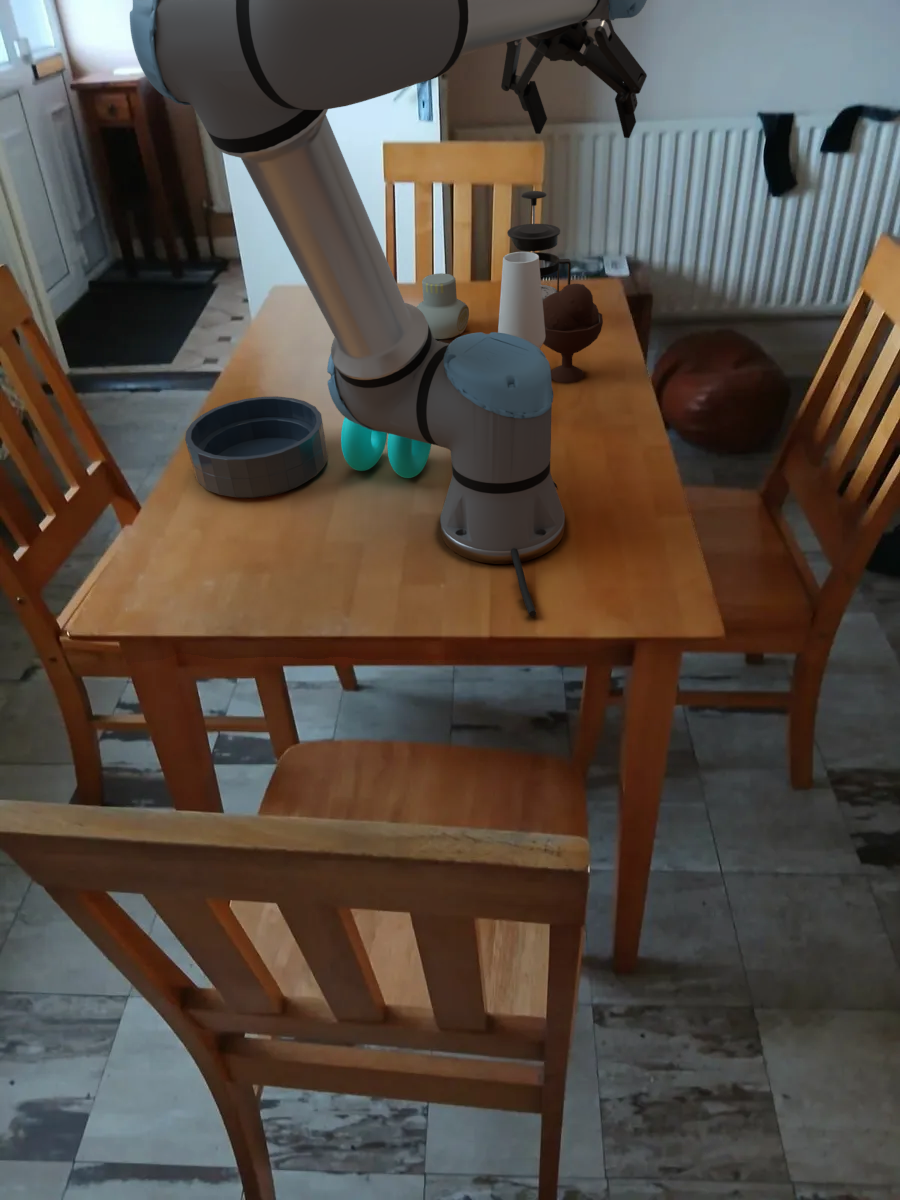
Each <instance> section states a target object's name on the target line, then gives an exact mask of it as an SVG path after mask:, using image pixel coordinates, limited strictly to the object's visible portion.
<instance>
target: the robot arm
mask: <svg viewBox="0 0 900 1200" xmlns="http://www.w3.org/2000/svg"><path fill="white" fill-rule="evenodd" d="M647 1H648V0H132V8H131V10H130V11H129V27H130V36H131V41H132V45H133V49H134V53H135V56H136V59H137V62H138V64H139V66H140V68H141V70H142V72H143V74H144V76H145V77H146V79H147V80H148V81H149V83H150V85H151V86H152V87H153V88H154V89H155V90H156V91H157V92H158V93H159V94H160V95H162V96H163V97H164V98H167V99H169V100H171V101H172V102H174V103H175V104H178V105H183V106H192V108H193V109H194V111H195V112H196V114H197V117H198V118H199V119H200V121H201V123H202V125H203V127H204V129H205V130H206V133H207V134H208V136H209V138H210V140H211V142H212V143H213V145H214V147H215V148H216V149H217V150H218V151H219V152H221V153H222V154H225V155H228V156H232V157H235V158H239V159H241V161H242V163H243V165H244V167H245V169H246V171H247V172H248V175H249V176H250V178H251V180H252V182H253V185H254V186H255V188H256V190H257V192H258V194H259V196H260V198H261V199H262V201H263V203H264V205H265V208H266V209H267V211H268V213H269V214H270V217H271V219H272V220H273V222H274V224H275V226H276V228H277V230H278V232H279V234H280V235H281V238H282V240H283V241H284V244H285V245H286V248H287V249H288V251H289V252H290V255H291V257H292V258H293V261H294V262H295V265H296V266H297V268H298V270H299V273H300V274H301V276H302V278H303V279H304V281H305V283H306V285H307V287H308V289H309V291H310V293H311V294H312V296H313V298H314V300H315V303H316V305H317V306H318V308H319V310H320V312H321V313H322V316H323V317H324V319H325V321H326V324H327V325H328V327H329V329H330V331H331V333H332V335H333V340H332V342H331V347H330V348H331V349H330V354H329V357H328V362H327V369H326V370H327V371H326V372H327V374H330V378H329V379H328V380H327V387H328V391H329V395H330V398H331V400H332V403H333V404H334V406H335V408H336V409H337V410H338V412H339V414H341V415H342V416H343V417H344V418H345V417H346V418H347V419H348V420H350V421H352V422H354V423H356V424H359V425H361V426H363V427H365V428H368V429H370V430H373V431H378V432H385V433H387V434H393V435H397V436H401V437H405V438H409V439H413V440H417V441H421V442H425V443H429V444H431V445H433V446H437V447H441V448H445V449H448V450H449V451H450V460H451V480H450V483H449V486H448V489H447V493H446V496H445V499H444V503H443V507H442V509H441V512H440V517H439V520H440V534H441V538H442V540H443V542H444V544H445V545H446V546H447V547H448V548H449V549H450V550H451V551H453V552H454V553H455V554H457V555H459V556H460V557H463V558H465V559H468V560H471V561H475V562H479V563H486V564H494V565H506V564H507V565H509V564H513V567H514V571H515V575H516V579H517V582H518V587H519V590H520V593H521V596H522V599H523V602H524V605H525V607H526V610H527V614H528V616H529V617H531V618H534V617H536V616H537V611H536V608H535V605H534V602H533V599H532V596H531V593H530V590H529V587H528V583H527V580H526V576H525V573H524V568H523V565H522V563H523V562H527V561H530V560H534V559H537V558H539V557H541V556H543V555H545V554H547V553H549V552H551V551H552V550H553V549H554V548H555V547H557V546H558V544H559V543H560V542H561V540H562V539H563V536H564V533H565V519H566V517H565V515H566V514H565V510H564V508H563V504H562V502H561V499H560V496H559V493H558V491H557V490H559V487H558V485H557V483H556V482H555V480H554V479H553V477H552V474H551V473H552V472H551V458H552V457H551V455H552V446H551V445H552V418H553V417H552V412H553V409H552V408H553V401H554V388H553V384H552V379H551V371H552V368H551V365H550V362H549V360H548V359H547V356H546V355H545V353H544V352H543V351H542V350H541V348H540V349H539V348H538V347H537V346H535V345H534V344H532V343H531V342H529V341H527V340H525V339H522V338H520V337H517V336H513V335H509V334H505V333H498V331H497V332H496V331H491V332H490V333H484V332H483V331H479V332H472V333H467V334H463V335H461V336H457V337H455V339H454V340H452V341H451V342H450V343H448V342H444V341H443V342H442V341H438V339H434V337H433V335H432V333H431V330H430V328H429V325H428V323H427V320H426V318H425V316H424V315H423V313H422V312H421V311H420V310H419V309H418V308H416V307H417V306H415V305H413V304H410V303H407V302H405V300H404V298H403V295H402V293H401V290H400V288H399V285H398V284H397V281H396V279H395V277H394V274H393V272H392V270H391V266H390V264H389V262H388V260H387V257H386V255H385V252H384V250H383V247H382V245H381V242H380V240H379V237H378V236H377V234H376V231H375V229H374V226H373V224H372V221H371V220H370V219H371V218H370V217H369V214H368V212H367V210H366V208H365V205H364V202H363V200H362V198H361V196H360V193H359V190H358V188H357V185H356V183H355V181H354V179H353V176H352V174H351V171H350V168H349V167H348V164H347V162H346V160H345V159H346V158H345V157H344V154H343V152H342V150H341V148H340V145H339V142H338V140H337V138H336V135H335V133H334V131H333V128H332V126H331V124H330V121H329V118H328V116H327V113H328V110H331V109H338V108H343V107H348V106H352V105H355V104H360V103H363V102H365V101H369V100H372V99H376V98H379V97H382V96H386V95H388V94H391V93H395V92H397V91H400V90H403V89H406V88H409V87H412V86H415V85H417V84H421V83H423V82H425V83H426V82H429V81H431V80H434V79H437V78H439V77H441V76H443V75H444V74H446V73H447V72H449V71H450V70H451V69H452V68H453V67H454V66H455V65H456V64H457V62H458V60H459V59H460V58H461V56H466V55H469V54H472V53H476V52H479V51H483V50H486V49H489V48H493V47H497V46H500V45H505V44H506V52H505V58H504V65H503V72H502V78H501V85H500V86H501V87H500V88H501V89H502V90H503V91H504V92H509V91H510V90H511V91H513V92H514V93H515V95H517V96H518V97H517V98H518V100H519V102H520V105H521V108H522V109H523V111H524V112H527V113H528V116H529V118H530V122H531V124H532V127H533V130H534V133H535V134H536V135H541V134H542V131H543V129H544V127H545V124H546V122H547V120H548V116H547V114H546V111H545V110H546V109H545V107H544V104H543V101H542V99H541V95H540V92H539V89H538V87H537V83H536V81H535V80H531V79H532V78H533V76H534V74H535V72H536V71H537V69H538V67H539V66H540V64H541V62H542V61H543V59H544V58H546V59H548V60H549V61H550V62H557V61H565V62H573V61H574V62H575V63H576V64H577V65H578V66H579V67H582V68H583V67H586V68H587V69H588V70H589V71H590V72H592V74H594V75H595V76H596V77H597V78H598V79H600V80H601V81H602V82H603V83H605V84H606V85H607V86H608V87H609V88H610V89H612V90H613V92H615V93H616V95H615V98H614V102H615V105H616V110H617V114H618V119H619V123H620V125H621V127H620V128H621V131H622V135H623V138H624V139H630V138H631V135H632V132H634V131H633V130H634V128H635V126H636V123H637V120H636V114H635V112H636V109H637V106H638V99H637V98H638V97H637V95H639V94H640V93H641V91H642V89H643V87H644V84H645V82H646V79H647V77H648V74H647V72H646V71H645V70H644V68H643V67H642V66H641V65H640V64H639V62H638V61H637V60H636V58H635V57H634V55H633V54H632V52H631V51H630V50H629V49H628V47H627V46H626V45H625V43H624V42H623V40H622V39H621V38H620V37H619V36H618V34H617V33H616V31H615V29H614V26H613V23H612V21H615V20H617V19H630V18H634V17H636V16H637V15H639V14H640V13H641V11H642V10H643V9H644V7H645V6H646V3H647ZM592 20H599V21H597V22H596V21H594V22H589V21H592ZM524 39H526V40H527V42H529V43H530V44H531V45H532V46H533V47H534V48H535V49H534V51H533V53H532V54H531V56H530V58H529V60H528V61H527V63H526V66H525V67H524V69H523V70H522V72H521V74H520V75H517V71H518V65H519V61H520V60H519V59H520V54H521V47H522V43H523V42H524ZM583 46H585V48H584V51H583V53H582V51H581V50H582V49H583Z"/></svg>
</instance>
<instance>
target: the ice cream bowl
mask: <svg viewBox="0 0 900 1200" xmlns="http://www.w3.org/2000/svg"><path fill="white" fill-rule="evenodd" d="M593 296H594V295H593V293H592V292H591V289H589V288H588V287H586V285H585V284H582V283H570V284H568V283H567V285H565V286H563V288H562V289H561V290H559V292H556V293H553V294H551V295H549V296H547V297H546V298H545V299H544V300H543V313H544V324H545V341H544V342H543V344H542V345H544V346H545V347H547V348H548V349H550V350H552V351H554V352H556V353H557V354H560V355H561V365H559V366H557V367H555V368H553V369H551V380H553V381H554V382H557V383H563V384H570V383H575V382H576V383H577V382H579V381H580V380H582V379H584V371H583V369H581V368H579V367H578V366H575V365H573V357H574V354H576V353H579V352H581V351H583V350H584V349H586V348H587V347H589V346H591V345H592V344H593V343H594V342H595V341H596V340H597V339H598V337H599V336H600V334H601V332H602V328H603V324H604V318H603V314H602V313H600V311H599V309H598V306H597V305H596V304H595V302H594V297H593Z"/></svg>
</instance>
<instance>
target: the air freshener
mask: <svg viewBox="0 0 900 1200" xmlns="http://www.w3.org/2000/svg"><path fill="white" fill-rule="evenodd" d="M456 281H457V280H456V277H454V275H452V274H451V273H443V272H441V273H433V274H428V275H427V276H425V277H424V278H423V279H422V281H421V283H422V284H421V286H422V299H423V300H422V301H421V302H419V303H418V304H417V306H415V307H416V308H418V309H419V310H420V311H421V312H422V313H423V315H424V316H425V318H426V320H427V323H428V325H429V328H430V330H431V333H432V335H433V337H434V339H435V340H448V339H453V338H457V337H459V335H461V334H462V333H464V331H465V330H466V328H467V326H468V322H469V318H470V309H469V306H468V305H467V304H466V303H465V302H464V301H462V300H461V299H459V298H457V282H456Z"/></svg>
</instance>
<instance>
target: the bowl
mask: <svg viewBox="0 0 900 1200" xmlns="http://www.w3.org/2000/svg"><path fill="white" fill-rule="evenodd" d="M184 440H185V444H186V447H187V448H186V449H187V452H188V455H189V460H190V463H191V467H192V470H193V475H194V478H195V479H196V481H197V483H198V485H200V486H201V487H203V488H204V489H205V490H207V491H209V492H211V493H214V494H217V495H220V496H224V497H230V498H237V499H258V498H266V497H271V496H276V495H280V494H283V493H286V492H289V491H293V490H295V489H296V488H299V487H300V486H302V485H305V483H307V482H309V481H310V480H312V479H313V478H315V477H316V476H317V475H318V474H319V473H320V472H321V471H322V470H323V469H324V468H325V466H326V464H327V462H328V458H329V455H328V448H327V441H326V436H325V430H324V423H323V417H322V413H321V412H320V410H319V409H318V408H317V407H316V406H315V405H313V404H311V403H309V402H308V401H305V400H301V399H298V398H293V397H288V396H276V395H275V396H257V397H249V398H248V397H247V398H243V399H238V400H235V401H231V402H228V403H227V402H226V403H224V404H221V405H219V406H217V407H214V408H212V409H210V410H208V411H206V412H204V413H202V414H200V415H199V416H198V417H197V418H196V419H195V420H193V421H192V422H191V423H190V425H189V427H187V429H186V430H185V438H184Z"/></svg>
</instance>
